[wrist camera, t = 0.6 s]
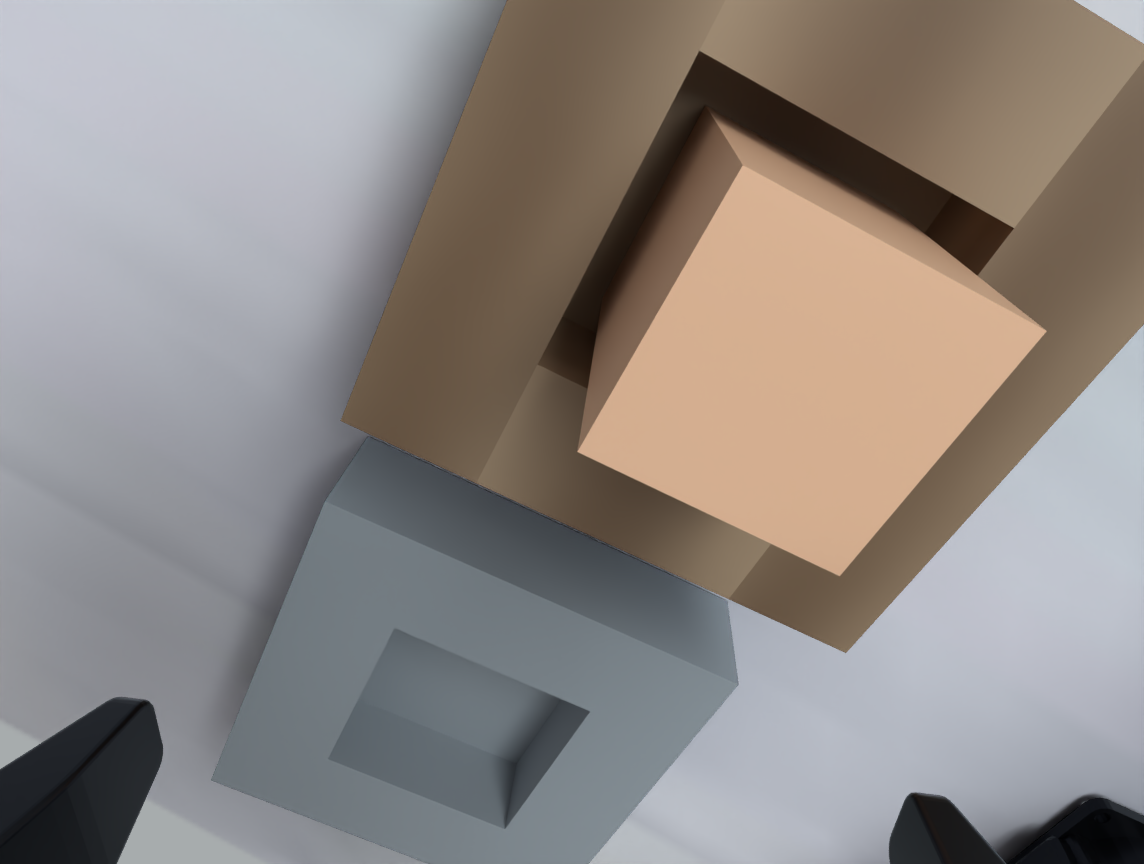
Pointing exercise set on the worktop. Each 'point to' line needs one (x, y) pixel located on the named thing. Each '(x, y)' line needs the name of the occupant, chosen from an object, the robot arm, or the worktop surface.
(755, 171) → the plug
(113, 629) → the worktop surface
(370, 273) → the worktop surface
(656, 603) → the frame
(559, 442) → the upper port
